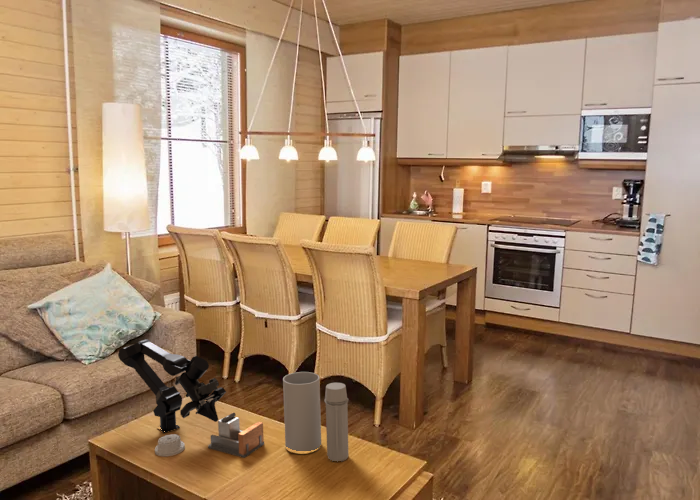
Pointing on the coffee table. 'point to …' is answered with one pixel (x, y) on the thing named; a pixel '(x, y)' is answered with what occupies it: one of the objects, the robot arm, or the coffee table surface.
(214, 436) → the grey and orange holder
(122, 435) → the coffee table surface
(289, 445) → the cylinder vase
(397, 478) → the coffee table surface
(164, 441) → the mechanical component
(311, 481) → the coffee table surface
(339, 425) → the water bottle
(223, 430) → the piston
